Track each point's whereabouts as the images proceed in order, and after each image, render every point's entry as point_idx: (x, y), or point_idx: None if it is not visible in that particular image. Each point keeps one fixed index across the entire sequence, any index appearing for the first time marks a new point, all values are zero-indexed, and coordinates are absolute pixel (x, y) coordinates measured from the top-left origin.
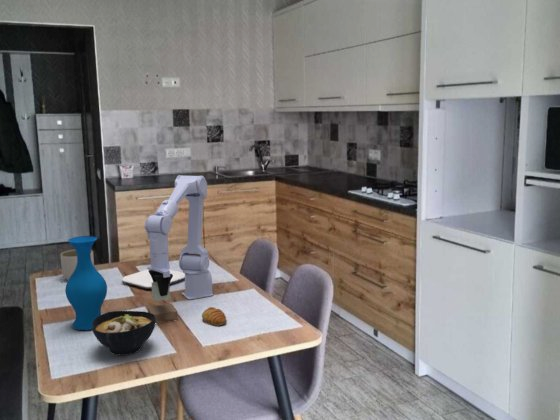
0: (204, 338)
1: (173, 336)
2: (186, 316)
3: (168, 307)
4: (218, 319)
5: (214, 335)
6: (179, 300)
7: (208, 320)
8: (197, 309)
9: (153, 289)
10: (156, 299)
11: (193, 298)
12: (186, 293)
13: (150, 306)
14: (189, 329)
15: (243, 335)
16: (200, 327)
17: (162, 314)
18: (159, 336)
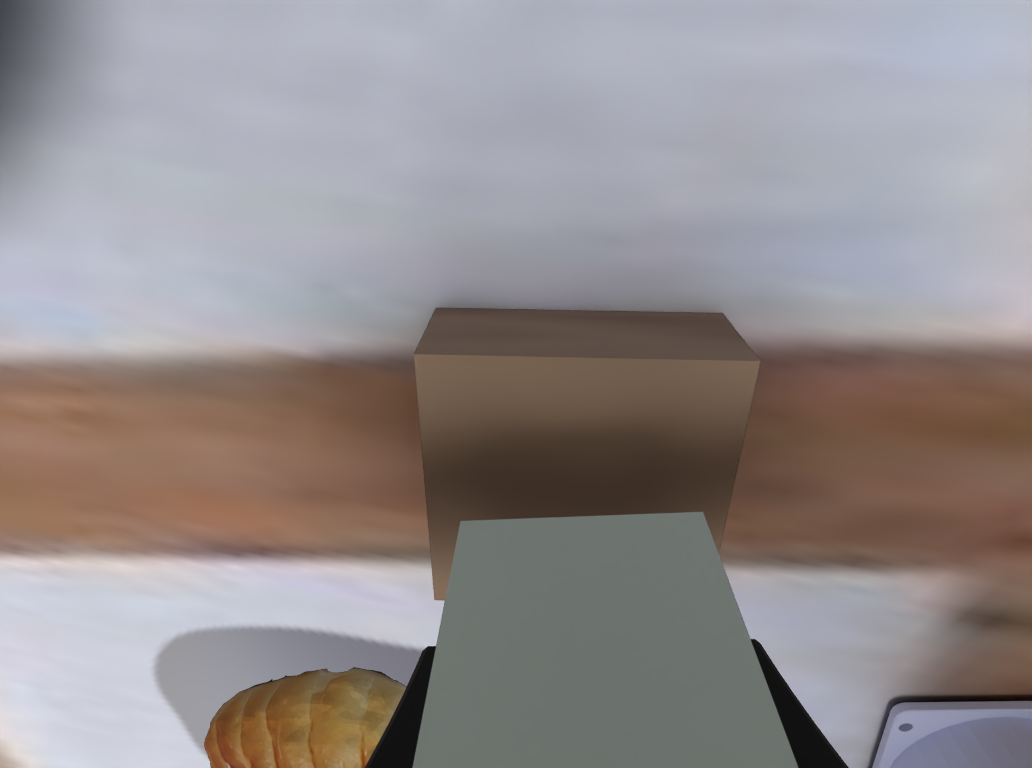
0: (6, 592)
1: (67, 416)
2: None
3: None
4: (215, 759)
5: (58, 651)
6: (954, 646)
7: (264, 704)
8: None
9: (614, 668)
10: (457, 547)
11: (885, 735)
12: (1006, 741)
13: (751, 396)
14: (208, 554)
15: (43, 760)
16: (232, 621)
17: (427, 459)
18: (80, 304)
